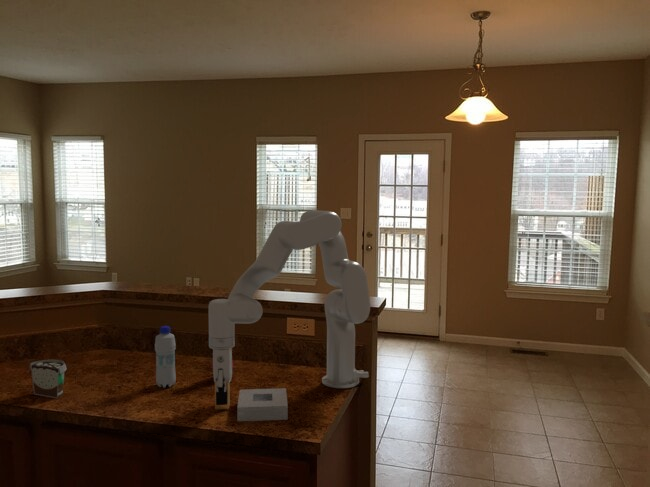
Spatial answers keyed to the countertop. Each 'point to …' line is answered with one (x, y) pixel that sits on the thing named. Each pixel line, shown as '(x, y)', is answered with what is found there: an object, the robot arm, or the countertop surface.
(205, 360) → the countertop surface
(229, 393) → the wooden block
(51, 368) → the food container
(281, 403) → the white flat block
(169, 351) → the bottle
